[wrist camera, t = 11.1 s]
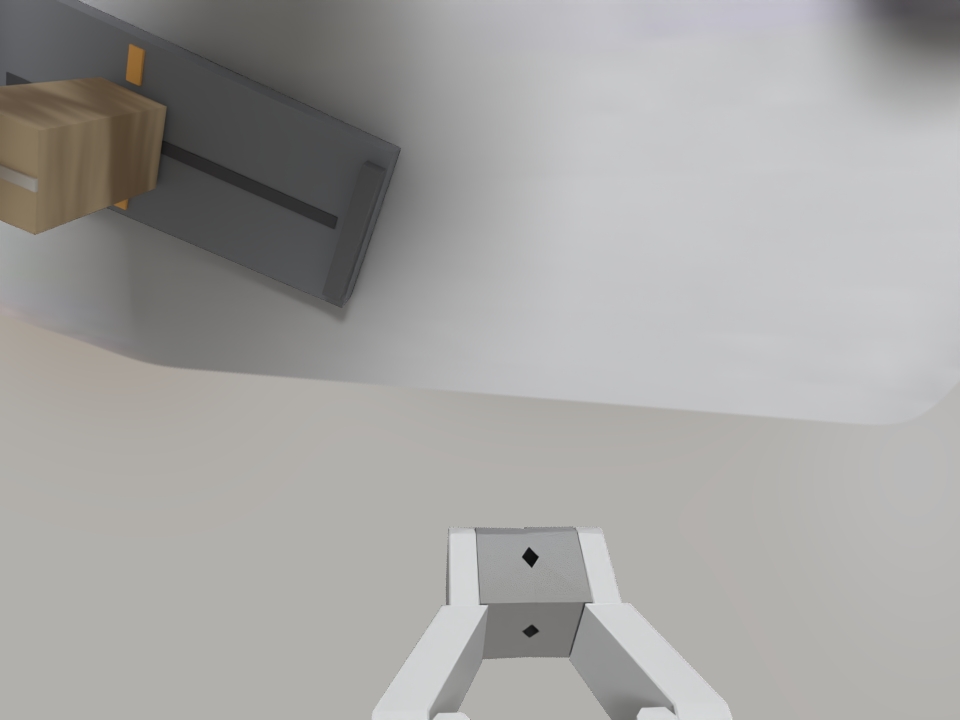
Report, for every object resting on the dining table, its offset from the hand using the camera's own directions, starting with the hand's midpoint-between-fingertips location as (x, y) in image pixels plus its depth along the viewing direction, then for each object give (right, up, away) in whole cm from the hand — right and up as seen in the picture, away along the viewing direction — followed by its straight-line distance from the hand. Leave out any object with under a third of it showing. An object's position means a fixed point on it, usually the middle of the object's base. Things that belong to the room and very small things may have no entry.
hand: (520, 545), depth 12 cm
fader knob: (-22, +17, +24) cm, 37 cm away
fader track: (-19, +17, +27) cm, 37 cm away
